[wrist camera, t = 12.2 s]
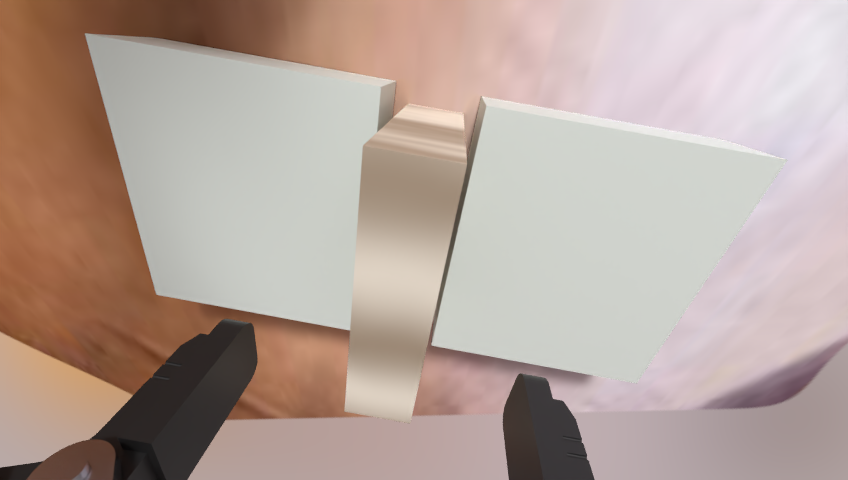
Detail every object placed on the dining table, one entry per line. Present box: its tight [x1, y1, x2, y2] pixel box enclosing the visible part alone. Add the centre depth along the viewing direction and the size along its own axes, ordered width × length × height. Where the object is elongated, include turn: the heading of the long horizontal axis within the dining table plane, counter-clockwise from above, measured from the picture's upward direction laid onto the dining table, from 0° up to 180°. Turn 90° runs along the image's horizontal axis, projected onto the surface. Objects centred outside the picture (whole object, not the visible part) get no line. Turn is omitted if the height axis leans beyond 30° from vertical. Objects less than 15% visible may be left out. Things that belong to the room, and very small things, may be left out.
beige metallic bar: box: [345, 103, 467, 423], centre depth 17 cm, size 12×3×10 cm, turn 171°
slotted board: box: [85, 33, 787, 383], centre depth 20 cm, size 14×30×4 cm, turn 81°
